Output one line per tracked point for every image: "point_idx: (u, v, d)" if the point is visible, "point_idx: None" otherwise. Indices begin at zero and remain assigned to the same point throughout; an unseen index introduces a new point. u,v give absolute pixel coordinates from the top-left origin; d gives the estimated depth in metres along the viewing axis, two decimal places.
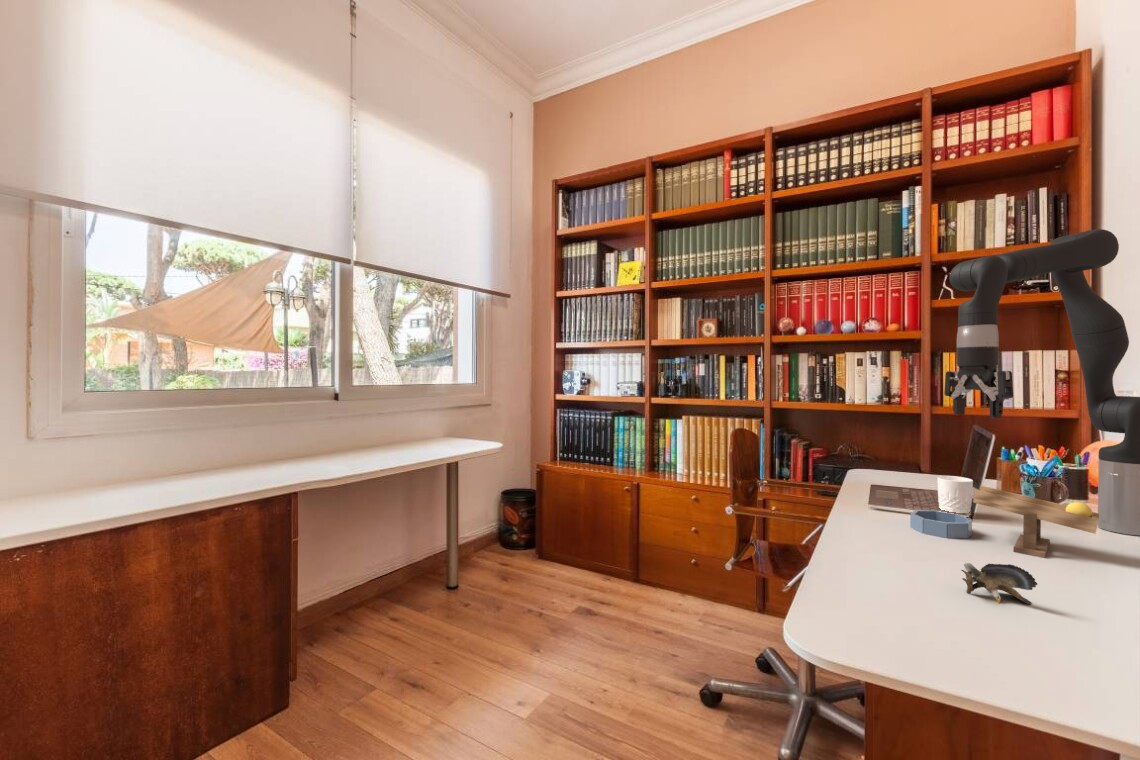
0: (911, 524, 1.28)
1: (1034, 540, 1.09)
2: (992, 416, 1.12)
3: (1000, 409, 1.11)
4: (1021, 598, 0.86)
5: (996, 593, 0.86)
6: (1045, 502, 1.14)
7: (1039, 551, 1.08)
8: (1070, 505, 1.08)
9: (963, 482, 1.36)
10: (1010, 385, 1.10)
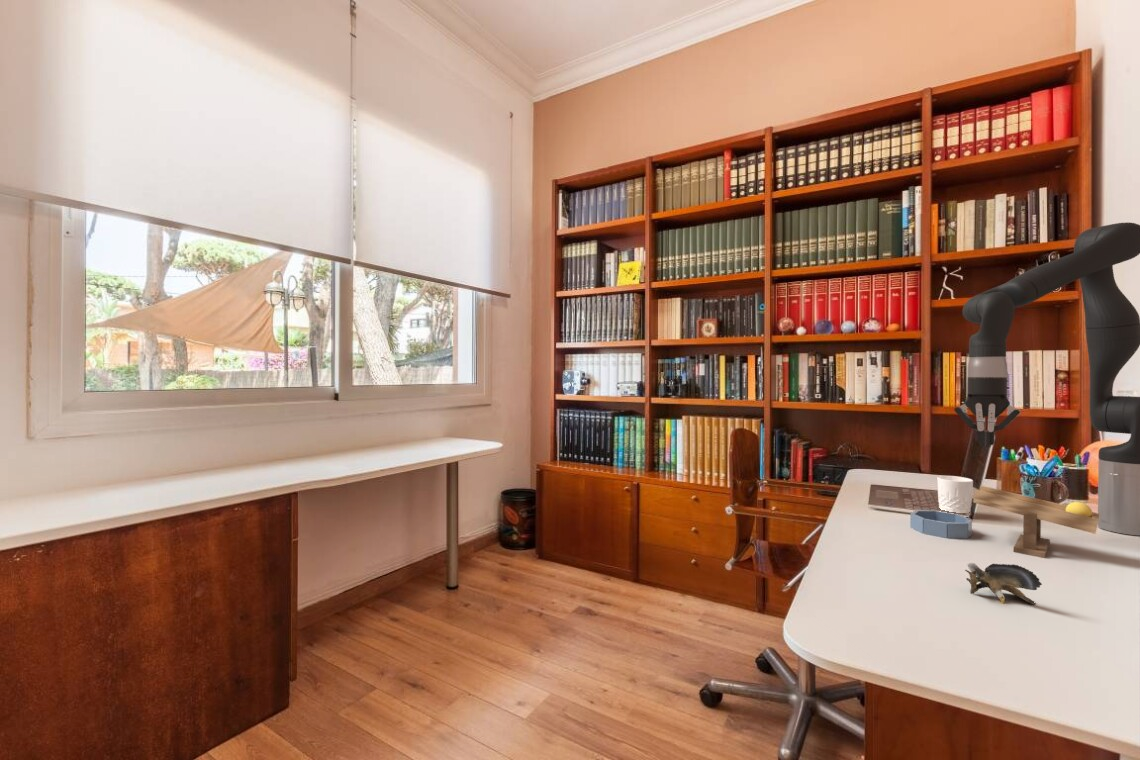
0: (911, 524, 1.28)
1: (1034, 540, 1.09)
2: None
3: None
4: (1025, 598, 0.86)
5: (1000, 593, 0.86)
6: (1045, 502, 1.14)
7: (1039, 551, 1.08)
8: (1070, 505, 1.08)
9: (963, 482, 1.36)
10: (962, 419, 1.27)
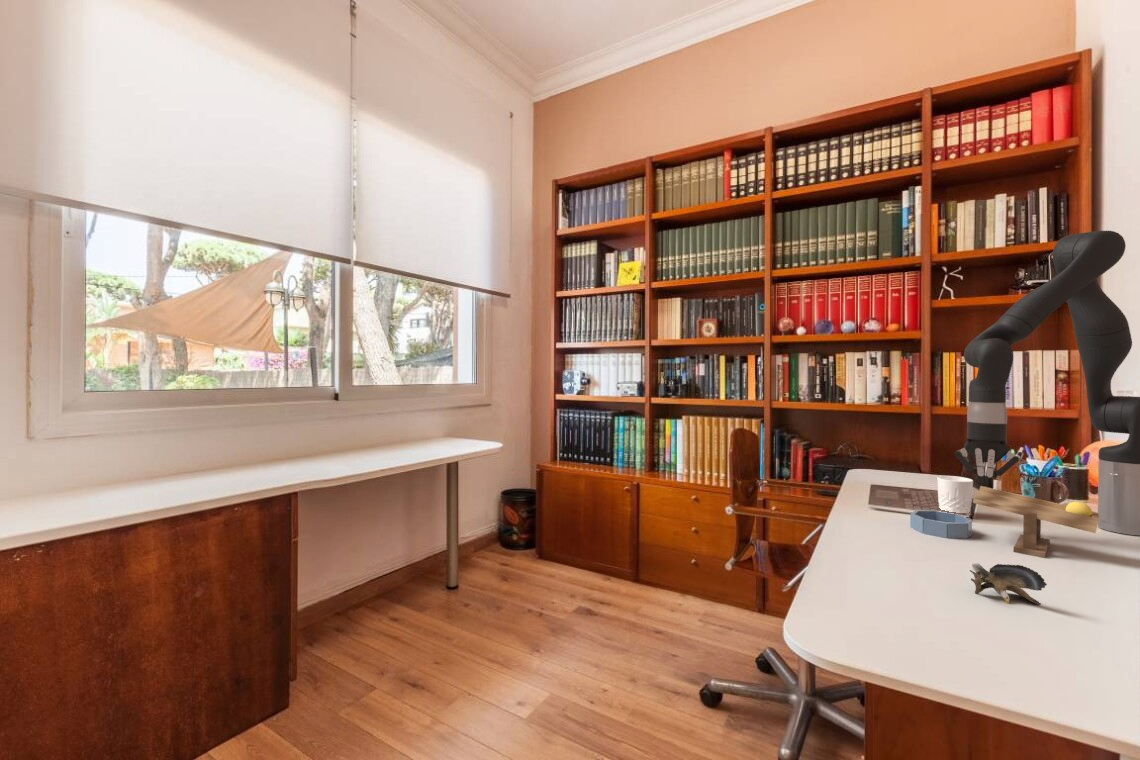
0: (911, 524, 1.28)
1: (1034, 540, 1.09)
2: None
3: None
4: (1030, 598, 0.86)
5: (1005, 593, 0.86)
6: (1045, 502, 1.14)
7: (1039, 551, 1.08)
8: (1070, 505, 1.08)
9: (963, 482, 1.36)
10: None
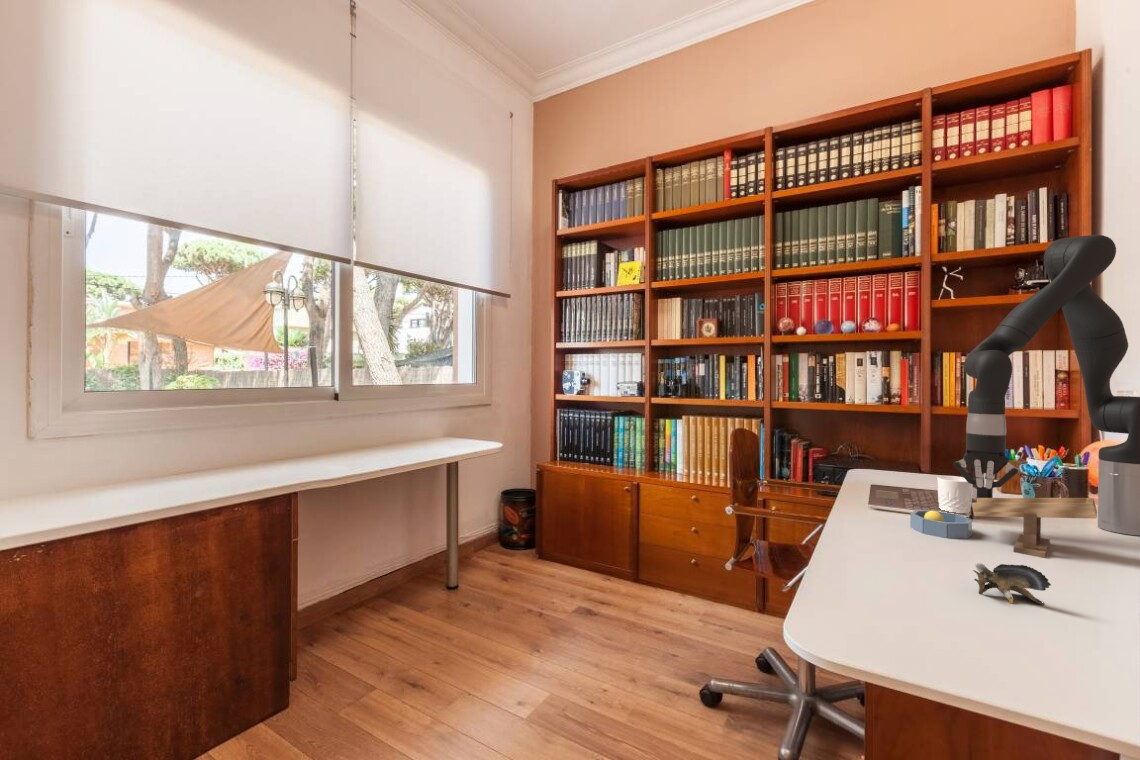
0: (911, 524, 1.28)
1: (1034, 540, 1.09)
2: None
3: None
4: (1034, 599, 0.86)
5: (1008, 594, 0.86)
6: (1041, 499, 1.14)
7: (1039, 551, 1.08)
8: (925, 515, 1.27)
9: (963, 482, 1.36)
10: None
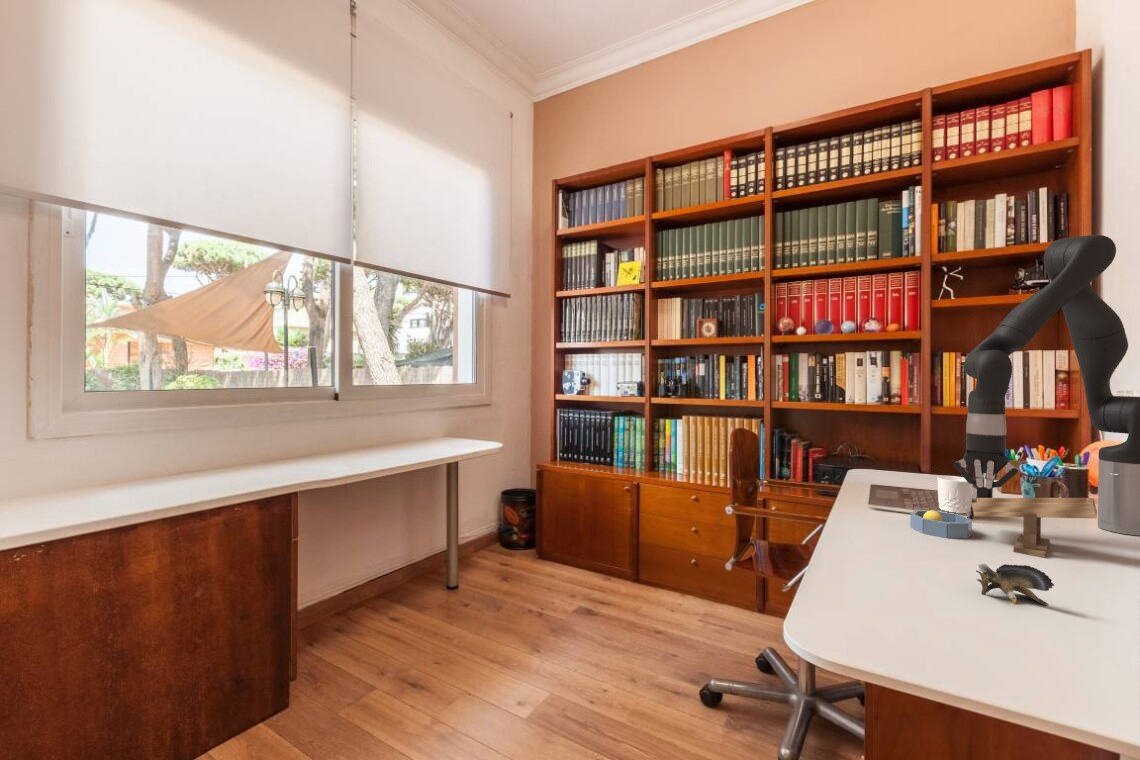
0: (911, 524, 1.28)
1: (1034, 540, 1.09)
2: None
3: None
4: (1037, 599, 0.86)
5: (1012, 594, 0.86)
6: (1041, 499, 1.14)
7: (1039, 551, 1.08)
8: None
9: (963, 482, 1.36)
10: None
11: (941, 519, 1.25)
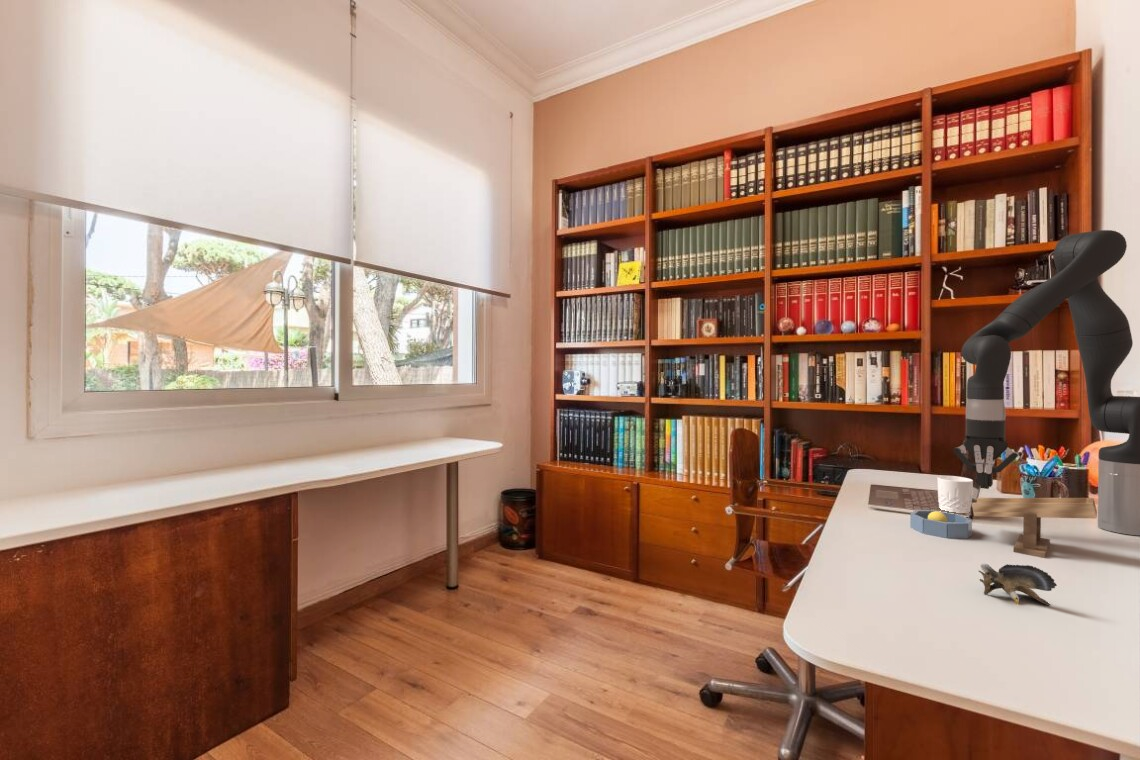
0: (911, 524, 1.28)
1: (1034, 540, 1.09)
2: None
3: None
4: (1039, 599, 0.86)
5: (1014, 594, 0.86)
6: (1041, 499, 1.14)
7: (1039, 551, 1.08)
8: None
9: (963, 482, 1.36)
10: None
11: None
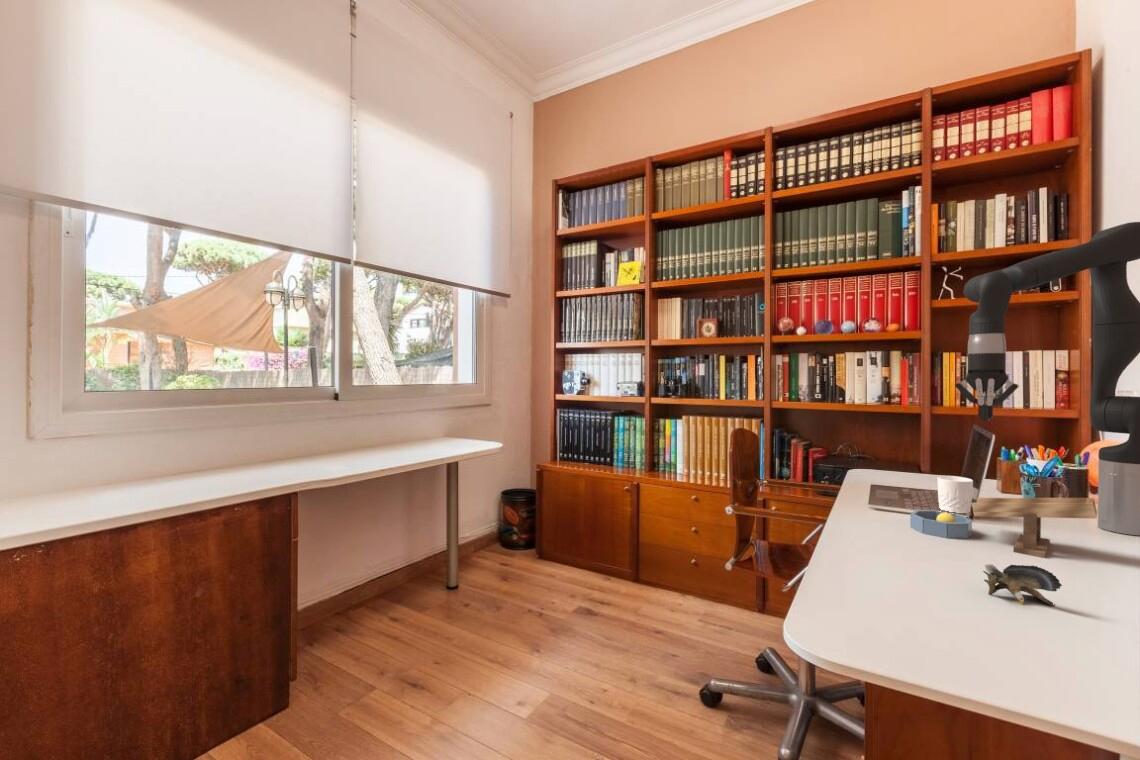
0: (911, 524, 1.28)
1: (1034, 540, 1.09)
2: None
3: None
4: (1044, 599, 0.86)
5: (1019, 594, 0.86)
6: (1041, 499, 1.14)
7: (1039, 551, 1.08)
8: (939, 515, 1.25)
9: (963, 482, 1.36)
10: (963, 394, 1.32)
11: None
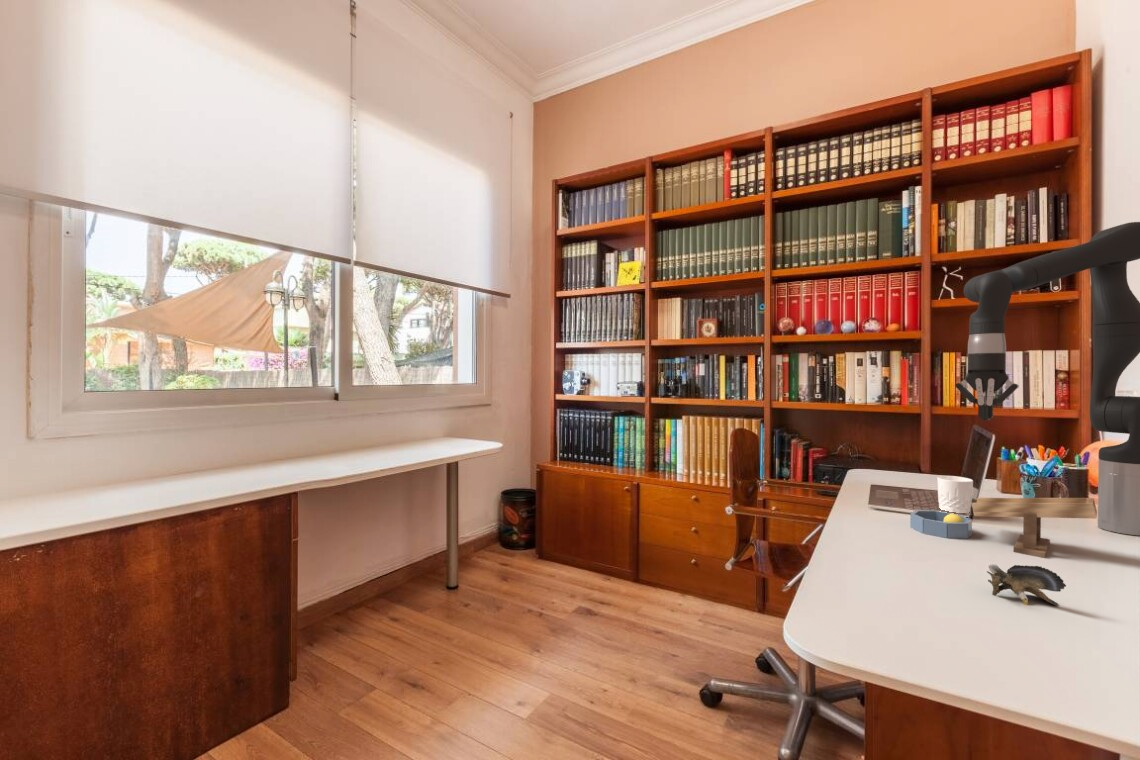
0: (911, 524, 1.28)
1: (1034, 540, 1.09)
2: None
3: None
4: (1048, 600, 0.86)
5: (1023, 595, 0.86)
6: (1041, 499, 1.14)
7: (1039, 551, 1.08)
8: (952, 515, 1.23)
9: (963, 482, 1.36)
10: (963, 394, 1.32)
11: None
